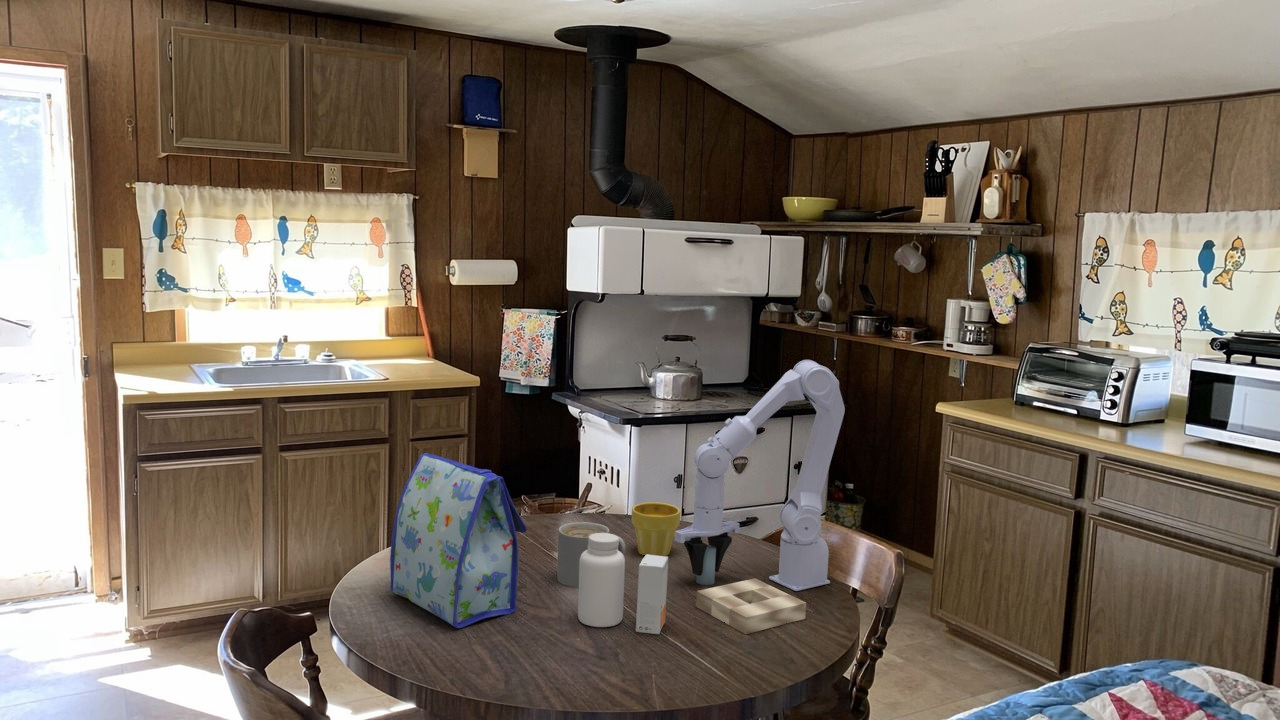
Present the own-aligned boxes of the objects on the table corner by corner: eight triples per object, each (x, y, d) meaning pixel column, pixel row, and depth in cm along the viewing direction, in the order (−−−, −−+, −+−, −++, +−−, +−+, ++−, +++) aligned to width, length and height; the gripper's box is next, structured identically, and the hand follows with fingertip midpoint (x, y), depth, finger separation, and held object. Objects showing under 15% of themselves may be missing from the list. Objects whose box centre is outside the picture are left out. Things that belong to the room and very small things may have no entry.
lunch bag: (531, 609, 172) (534, 467, 168) (454, 634, 160) (456, 482, 156) (456, 576, 187) (458, 445, 183) (381, 597, 175) (382, 457, 171)
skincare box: (659, 635, 162) (662, 567, 161) (635, 632, 163) (637, 564, 162) (666, 621, 168) (668, 556, 167) (642, 618, 169) (645, 553, 168)
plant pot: (679, 562, 200) (681, 516, 198) (629, 560, 200) (631, 514, 199) (677, 546, 210) (679, 502, 209) (630, 544, 210) (632, 501, 209)
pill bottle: (629, 615, 171) (632, 533, 169) (613, 631, 163) (616, 546, 161) (588, 607, 173) (590, 527, 171) (570, 624, 166) (572, 540, 164)
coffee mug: (557, 588, 182) (559, 537, 181) (556, 570, 192) (557, 521, 191) (627, 587, 184) (629, 537, 183) (622, 570, 194) (624, 522, 192)
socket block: (754, 593, 183) (755, 578, 183) (805, 618, 172) (806, 602, 172) (696, 606, 176) (696, 591, 175) (745, 634, 164) (746, 617, 164)
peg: (706, 577, 191) (708, 543, 190) (718, 583, 188) (719, 548, 187) (692, 580, 189) (694, 546, 188) (703, 586, 186) (705, 551, 185)
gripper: (724, 495, 194) (721, 560, 196) (666, 504, 186) (663, 572, 188) (747, 504, 188) (743, 571, 190) (688, 514, 180) (685, 583, 182)
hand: (705, 572), depth 188 cm, fingers open, 4 cm apart
